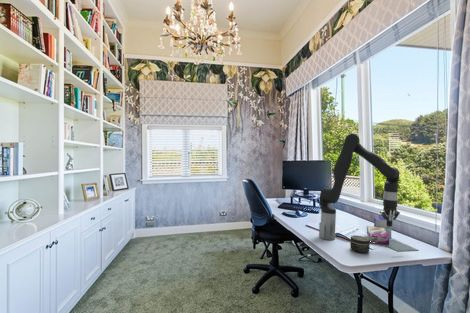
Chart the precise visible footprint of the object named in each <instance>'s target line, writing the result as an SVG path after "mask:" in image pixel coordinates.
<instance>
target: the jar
mask: <svg viewBox="0 0 470 313" xmlns="http://www.w3.org/2000/svg"><path fill="white" fill-rule="evenodd" d="M349 241H350V244H349V245H350V247H349V248H350V250H351V251H352V252H354V253H355V254H356V253H357V254H361V255H367V254H368V253H369V252H370V244H371V243H370V240H369V239H368V237H365V236H362V235H356V234H355V235H351V236H350V240H349Z"/></svg>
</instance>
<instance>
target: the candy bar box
mask: <svg viewBox="0 0 470 313" xmlns="http://www.w3.org/2000/svg"><path fill="white" fill-rule="evenodd" d="M366 235H367V238H368V239H369V240H370V241H371V242H377V243H376V244H378V243H382V244H386V245H389V239H390V238H389V237H388V234H387V232H386V230H385V228H383V227H374V226H371V225H366ZM382 244H381V245H382Z"/></svg>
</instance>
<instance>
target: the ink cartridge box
mask: <svg viewBox="0 0 470 313" xmlns="http://www.w3.org/2000/svg"><path fill="white" fill-rule="evenodd" d="M378 215H379V217H374V218H373V227H383V228H385V230H386V232H387V234H388V237H389V239H392V227H389V226H387V220H386V219H384V218H383V217H382V215H381V214H378Z"/></svg>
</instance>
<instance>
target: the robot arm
mask: <svg viewBox="0 0 470 313" xmlns="http://www.w3.org/2000/svg"><path fill="white" fill-rule="evenodd" d="M360 142H361V141H360V137H359V135H358V134H356V133H349V134H348V135H346V136H345V139H344V142H343V145H342V148H341V151H340V152H339V153H340V154H339V155H338V157H337V159H336V162H335V164H334V166H333V170H332V175H333V178H334V180H333V181H334V183H333V186H332V188H328V187H324V188H321V190H320V194H319V207H320V222H319V223H318V225H319V226H318V237H319V238H321V240H322V239H323V240H326V241H334V240H335V239H336V222H337V221H336V219H337V209H336V208H335V207H334V206H333V205H332V204H336V203H338V201H339V200H340V197H341V192H342V190H343V186H344V182H345V180H346V178H347V175H348V173H349V171H350V168H351V164H352V160H353V153H355V154H357V155H358V156H360V157H361V158H363V159H364V160H365V161H367V162H368V163H369V164H371V165H372V166H373V167H374V168H375V169H377V171H378V172H380V174H381V175H383V177H385V178H386V180H385V182H384V185H383V186H384V187H383V196H382V197H383V198H382V199H383V200H382V205H383V208H382V210H380V211H379V213H380V214H379V215H382V216H381V217H383V218H384V219H386V220H387V226H389V227H391V228H392V227H393V221H395V220H397V218H398V217H399V215H400V213H401V212H400V211H398V209H397V207H398V202H399V200H398V199H399V196H398V195H399V193H398V184H399V179H400V171H399V169H398V168H397V167H394V166H391V165H389V164H388V163H387V161H386V160H385V159H384V158H382V157H381V156H380V155H378V154H377V153H375V152H373V151H370V150H369V149H367V148H366V147H364V145H362V144H361V143H360Z"/></svg>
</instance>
